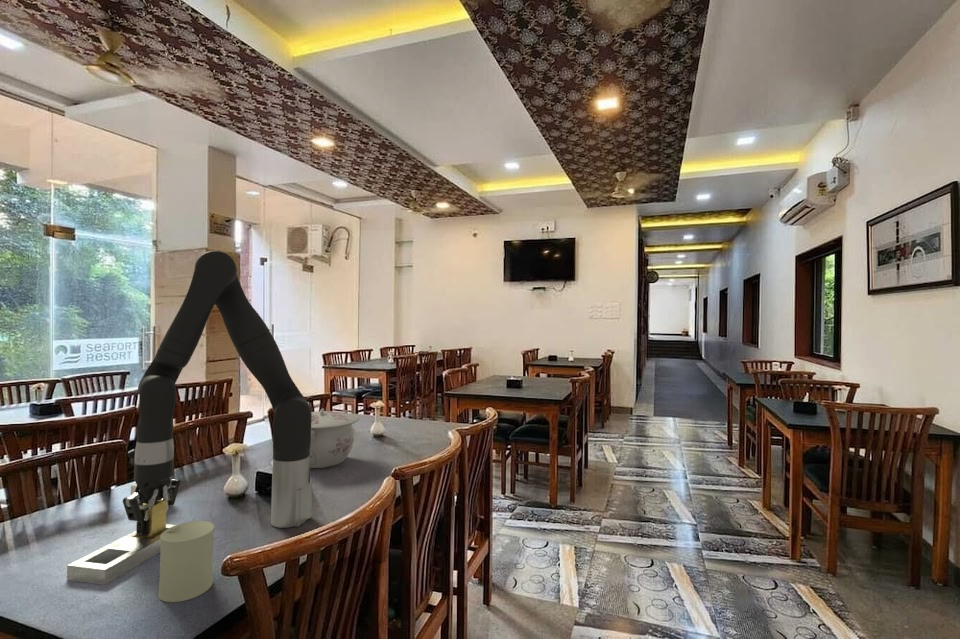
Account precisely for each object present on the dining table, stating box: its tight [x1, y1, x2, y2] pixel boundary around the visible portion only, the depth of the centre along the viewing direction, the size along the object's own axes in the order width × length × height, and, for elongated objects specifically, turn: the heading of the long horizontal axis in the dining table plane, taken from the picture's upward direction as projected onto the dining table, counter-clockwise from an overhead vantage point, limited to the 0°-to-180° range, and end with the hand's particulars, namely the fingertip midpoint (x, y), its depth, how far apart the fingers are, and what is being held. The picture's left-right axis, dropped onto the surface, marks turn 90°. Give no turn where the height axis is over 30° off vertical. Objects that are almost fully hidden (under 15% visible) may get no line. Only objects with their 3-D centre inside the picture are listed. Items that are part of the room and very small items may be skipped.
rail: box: [66, 523, 177, 586], centre depth 101 cm, size 9×20×3 cm, turn 172°
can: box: [157, 520, 215, 603], centre depth 90 cm, size 9×9×12 cm
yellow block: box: [135, 499, 167, 539], centre depth 107 cm, size 4×4×8 cm
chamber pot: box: [309, 408, 360, 469], centre depth 170 cm, size 28×28×21 cm
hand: (151, 530), depth 107 cm, fingers closed on yellow block, 4 cm apart
